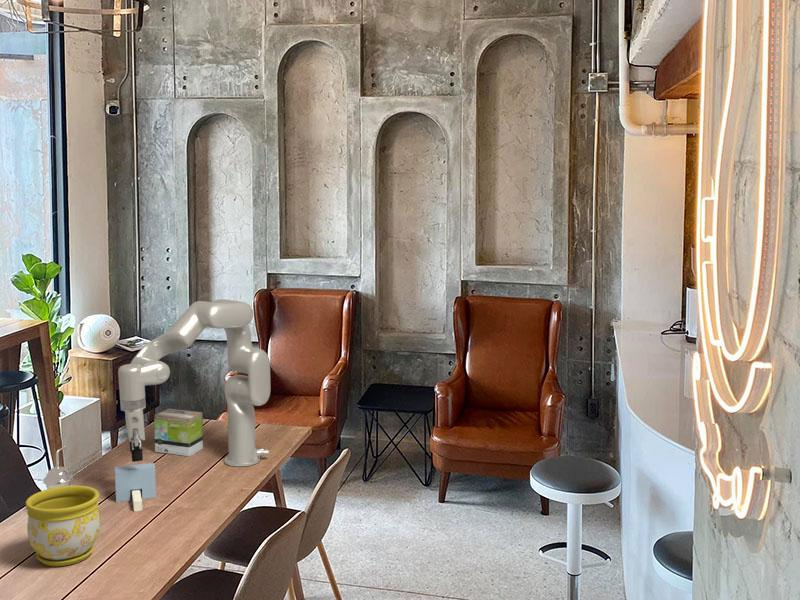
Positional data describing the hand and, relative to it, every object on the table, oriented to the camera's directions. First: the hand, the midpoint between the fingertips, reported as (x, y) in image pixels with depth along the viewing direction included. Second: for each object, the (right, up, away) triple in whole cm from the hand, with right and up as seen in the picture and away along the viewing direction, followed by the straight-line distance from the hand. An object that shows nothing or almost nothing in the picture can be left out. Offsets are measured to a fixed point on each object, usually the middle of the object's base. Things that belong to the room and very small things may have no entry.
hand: (136, 455), depth 260 cm
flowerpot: (-6, -19, -41) cm, 46 cm away
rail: (-1, -13, +1) cm, 13 cm away
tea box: (+1, -8, +48) cm, 49 cm away
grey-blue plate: (-1, -13, +1) cm, 13 cm away
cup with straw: (-20, -15, -10) cm, 27 cm away
